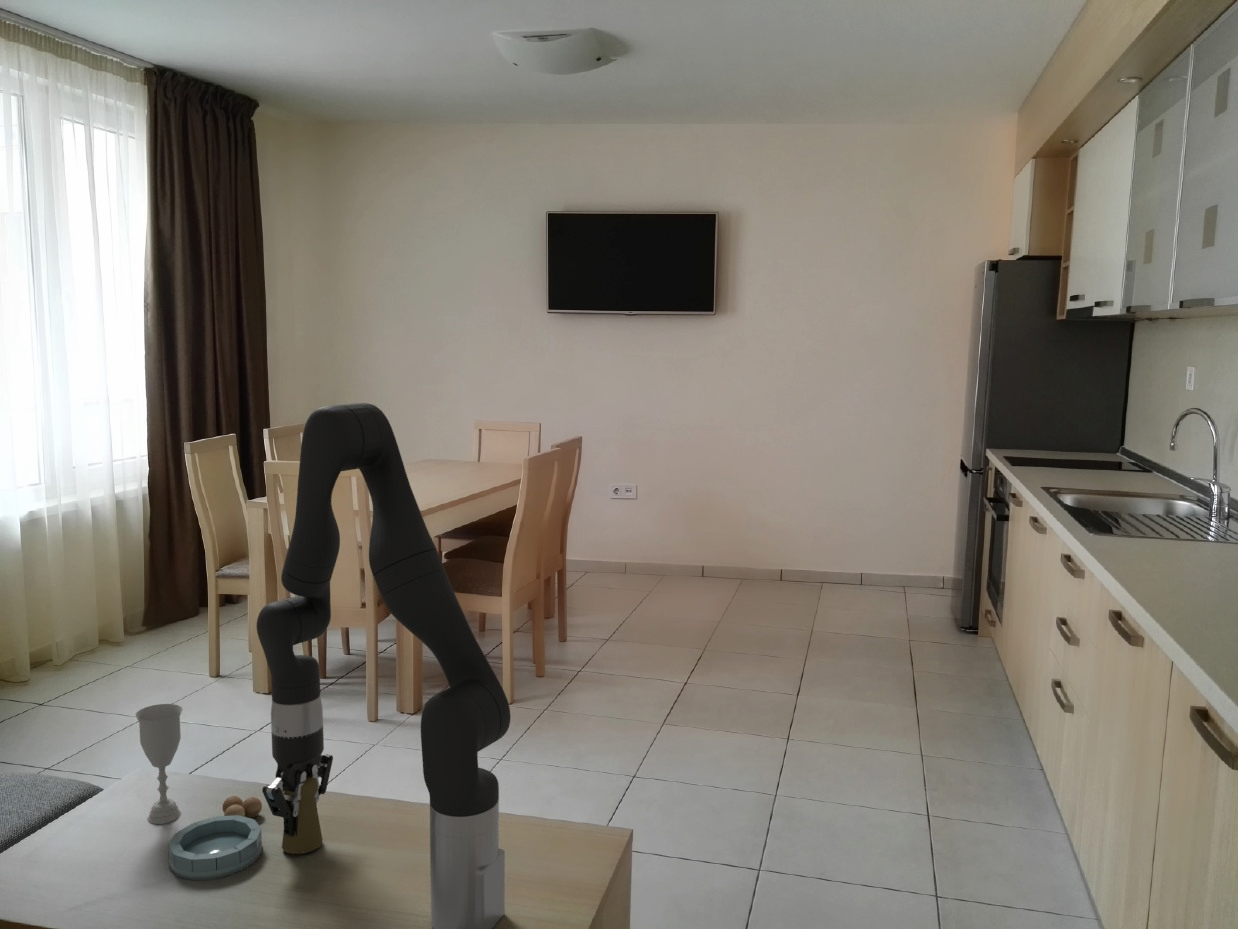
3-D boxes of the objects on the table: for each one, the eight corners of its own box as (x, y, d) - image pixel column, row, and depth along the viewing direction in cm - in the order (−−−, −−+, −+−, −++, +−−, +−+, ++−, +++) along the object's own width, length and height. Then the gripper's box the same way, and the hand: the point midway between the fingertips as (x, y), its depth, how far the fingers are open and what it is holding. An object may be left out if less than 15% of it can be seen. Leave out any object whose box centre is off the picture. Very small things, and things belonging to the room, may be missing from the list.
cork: (309, 856, 142) (307, 787, 141) (273, 851, 143) (271, 783, 142) (329, 836, 148) (327, 770, 147) (295, 831, 149) (292, 766, 148)
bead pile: (265, 811, 157) (265, 793, 156) (250, 829, 151) (250, 811, 150) (227, 810, 157) (227, 792, 156) (211, 828, 151) (210, 810, 150)
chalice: (196, 813, 155) (191, 710, 153) (157, 831, 150) (152, 724, 147) (170, 802, 159) (165, 700, 157) (131, 818, 153) (126, 713, 151)
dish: (280, 844, 146) (279, 825, 146) (217, 888, 134) (216, 867, 134) (215, 827, 151) (215, 808, 151) (149, 868, 139) (148, 848, 139)
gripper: (285, 747, 135) (289, 859, 137) (346, 712, 148) (349, 815, 150) (244, 738, 138) (249, 848, 140) (308, 705, 151) (311, 806, 153)
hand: (301, 830), depth 145 cm, fingers closed on cork, 3 cm apart
